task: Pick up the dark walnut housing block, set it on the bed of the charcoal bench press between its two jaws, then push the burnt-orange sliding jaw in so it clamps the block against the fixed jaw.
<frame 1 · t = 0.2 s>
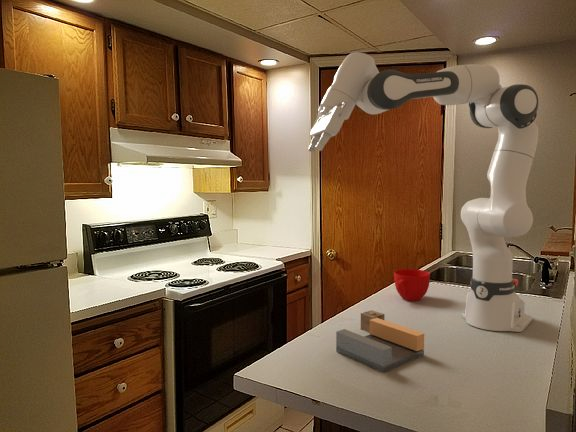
hand: (314, 150, 121), 54 cm above the table, tool tilted 30°, fingers open, 8 cm apart
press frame: (379, 353, 114), on the table
ceramic cup: (409, 300, 161), on the table
housing block: (372, 329, 131), on the table
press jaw: (395, 333, 117), point 4 cm above the table, slide at 0.0 cm
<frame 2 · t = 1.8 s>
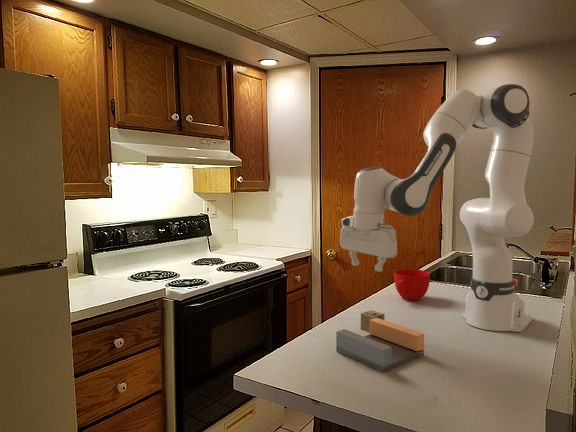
hand: (366, 268, 129), 19 cm above the table, tool pointing down, fingers open, 8 cm apart
nothing on the table moved.
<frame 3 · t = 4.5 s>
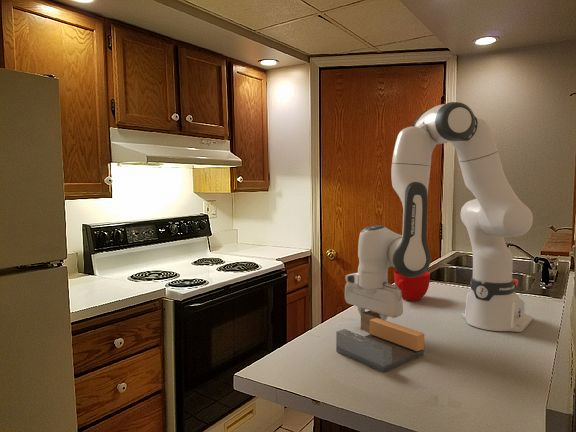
hand: (372, 324, 131), 2 cm above the table, tool pointing down, fingers closed on housing block, 5 cm apart
housing block: (372, 329, 131), on the table, touching gripper
everything else where it was.
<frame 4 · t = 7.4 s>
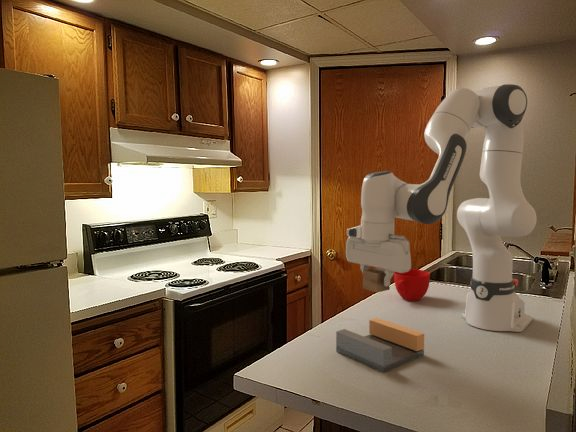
hand: (376, 283, 117), 18 cm above the table, tool pointing down, fingers closed on housing block, 5 cm apart
housing block: (376, 289, 117), point 16 cm above the table, touching gripper
everything else where it was.
when the fingers open (5 cm above the table, at t = 10.6 s): housing block drops 1 cm, resting on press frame.
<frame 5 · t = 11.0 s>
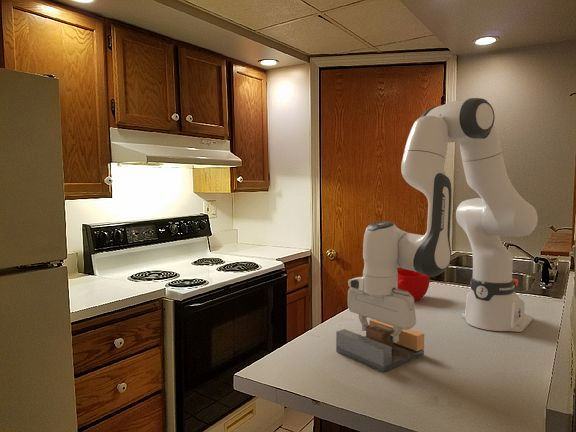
hand: (379, 336, 113), 5 cm above the table, tool pointing down, fingers open, 8 cm apart
housing block: (379, 347, 114), point 1 cm above the table, touching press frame
everything else where it was.
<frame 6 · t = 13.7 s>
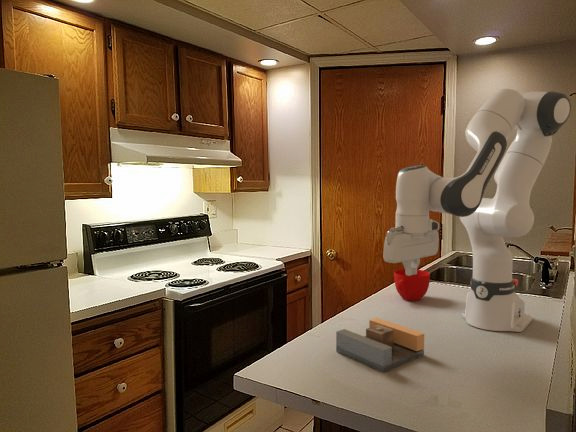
hand: (411, 274, 120), 19 cm above the table, tool pointing down, fingers closed
nothing on the table moved.
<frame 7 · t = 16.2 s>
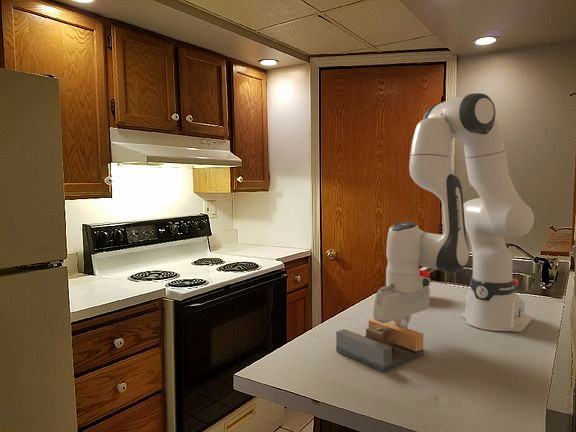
hand: (401, 331, 119), 4 cm above the table, tool pointing down, fingers closed
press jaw: (394, 333, 117), point 4 cm above the table, slide at 0.4 cm, touching gripper
everything else where it was.
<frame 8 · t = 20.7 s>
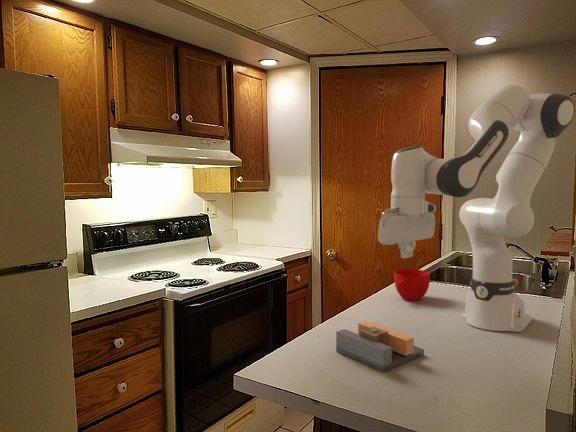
hand: (406, 257, 118), 24 cm above the table, tool pointing down, fingers closed
housing block: (374, 349, 112), point 1 cm above the table, touching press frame
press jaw: (384, 337, 115), point 4 cm above the table, slide at 4.5 cm
everything else where it was.
at the end: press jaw slide at 4.5 cm; housing block 0.4 cm from the target spot on the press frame, point 1.5 cm above the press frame's base; the gripper is holding nothing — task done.
